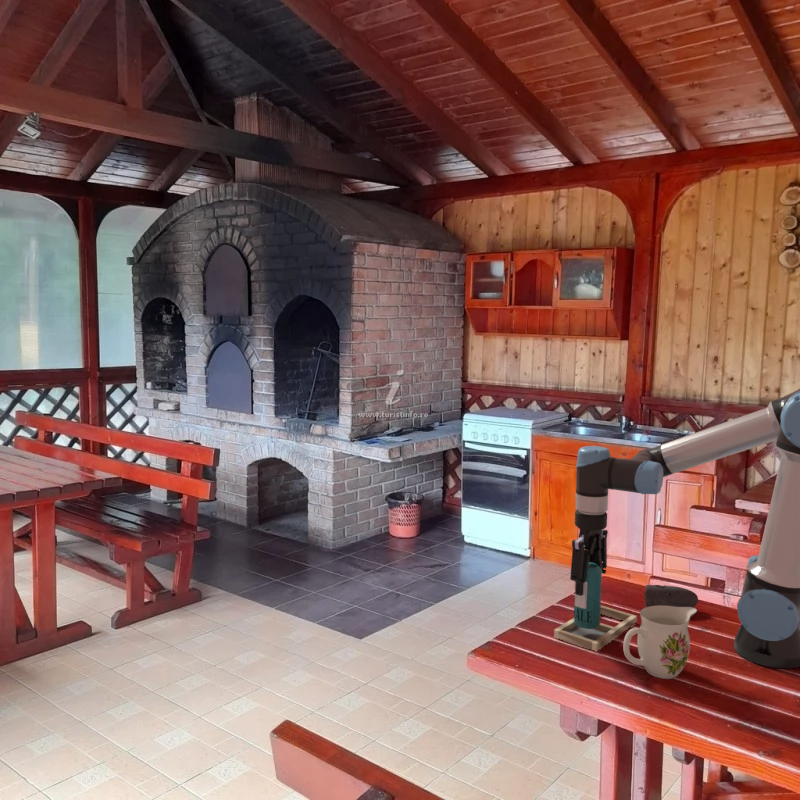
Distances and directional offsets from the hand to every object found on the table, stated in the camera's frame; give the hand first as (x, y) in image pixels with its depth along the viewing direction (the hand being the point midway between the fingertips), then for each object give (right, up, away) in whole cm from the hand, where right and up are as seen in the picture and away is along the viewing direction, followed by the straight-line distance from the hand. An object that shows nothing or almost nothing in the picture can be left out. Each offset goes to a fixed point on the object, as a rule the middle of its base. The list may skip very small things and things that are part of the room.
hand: (587, 602), depth 183 cm
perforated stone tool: (+26, -7, +17) cm, 32 cm away
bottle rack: (+3, -8, +5) cm, 10 cm away
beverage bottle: (0, -7, +1) cm, 7 cm away
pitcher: (+12, -11, -16) cm, 23 cm away
